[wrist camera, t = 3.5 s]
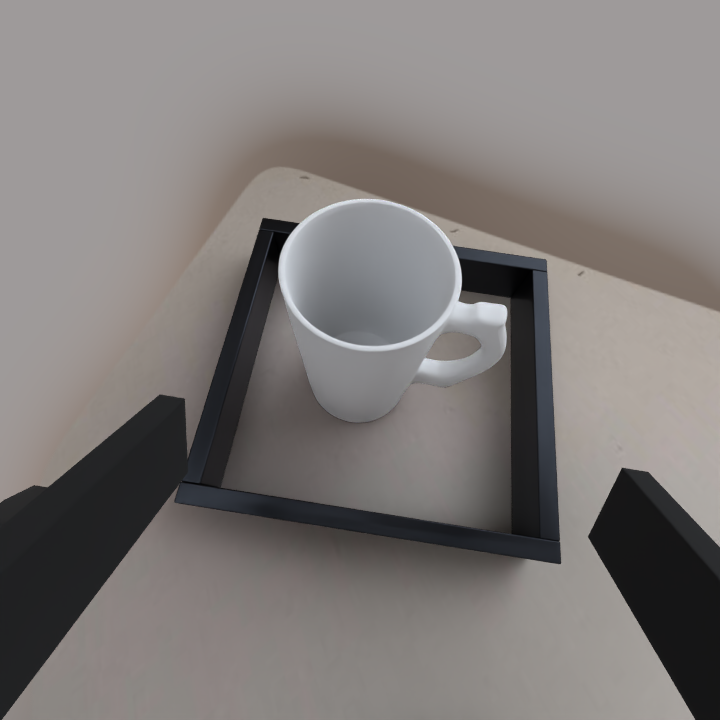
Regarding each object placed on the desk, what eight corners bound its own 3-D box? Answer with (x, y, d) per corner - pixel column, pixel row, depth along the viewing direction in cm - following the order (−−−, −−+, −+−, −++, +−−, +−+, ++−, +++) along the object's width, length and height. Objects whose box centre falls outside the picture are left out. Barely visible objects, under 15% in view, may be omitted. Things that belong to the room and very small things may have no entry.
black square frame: (198, 504, 22) (173, 502, 19) (271, 250, 29) (262, 217, 26) (528, 557, 22) (561, 564, 18) (523, 288, 29) (547, 259, 25)
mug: (293, 413, 24) (252, 326, 13) (321, 321, 27) (306, 183, 16) (450, 451, 24) (546, 393, 13) (464, 354, 26) (553, 235, 15)
